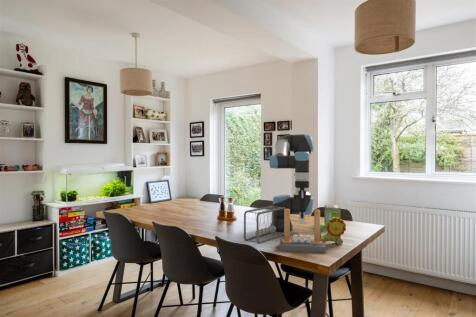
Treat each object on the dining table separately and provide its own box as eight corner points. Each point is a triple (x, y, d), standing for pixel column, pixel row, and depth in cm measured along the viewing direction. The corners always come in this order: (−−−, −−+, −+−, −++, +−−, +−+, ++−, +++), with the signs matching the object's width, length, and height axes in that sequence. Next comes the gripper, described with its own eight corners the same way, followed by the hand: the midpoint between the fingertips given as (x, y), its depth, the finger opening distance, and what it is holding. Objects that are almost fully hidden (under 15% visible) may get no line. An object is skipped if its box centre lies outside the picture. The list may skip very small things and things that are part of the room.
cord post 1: (282, 240, 178) (282, 208, 178) (291, 241, 177) (291, 208, 177) (282, 243, 173) (282, 209, 173) (291, 243, 173) (291, 210, 172)
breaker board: (279, 244, 182) (279, 239, 182) (323, 246, 178) (323, 240, 178) (279, 250, 170) (279, 245, 170) (326, 252, 166) (326, 247, 166)
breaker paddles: (293, 241, 176) (293, 234, 176) (310, 242, 174) (310, 235, 174) (293, 242, 174) (293, 235, 174) (310, 243, 173) (310, 236, 172)
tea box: (340, 229, 218) (340, 207, 218) (325, 228, 220) (325, 207, 220) (338, 224, 233) (338, 204, 233) (324, 224, 235) (324, 204, 235)
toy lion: (319, 245, 180) (319, 218, 180) (316, 242, 186) (316, 216, 186) (347, 245, 181) (347, 218, 181) (343, 242, 186) (343, 216, 186)
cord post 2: (312, 242, 176) (312, 209, 176) (321, 242, 175) (321, 209, 175) (312, 244, 171) (312, 210, 171) (322, 245, 170) (322, 211, 170)
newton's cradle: (272, 232, 212) (272, 205, 212) (286, 234, 205) (286, 206, 205) (243, 241, 189) (243, 211, 189) (257, 244, 182) (257, 213, 182)
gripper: (294, 179, 181) (294, 221, 181) (295, 181, 168) (295, 226, 168) (308, 179, 180) (308, 221, 180) (309, 181, 167) (309, 226, 167)
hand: (301, 223), depth 174 cm, fingers closed
